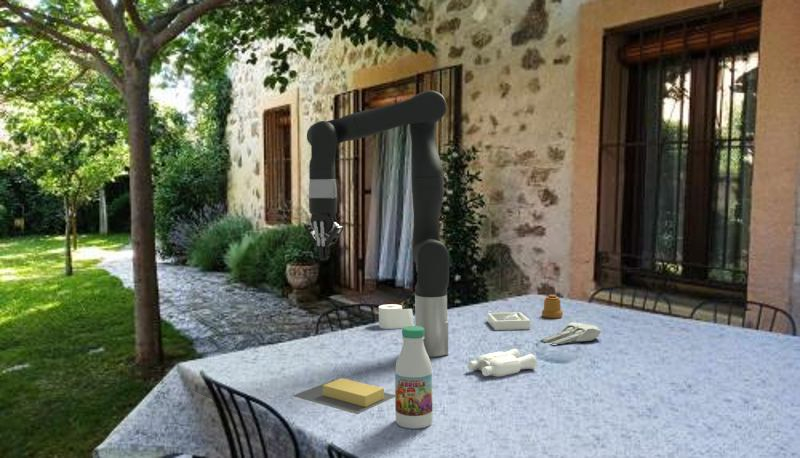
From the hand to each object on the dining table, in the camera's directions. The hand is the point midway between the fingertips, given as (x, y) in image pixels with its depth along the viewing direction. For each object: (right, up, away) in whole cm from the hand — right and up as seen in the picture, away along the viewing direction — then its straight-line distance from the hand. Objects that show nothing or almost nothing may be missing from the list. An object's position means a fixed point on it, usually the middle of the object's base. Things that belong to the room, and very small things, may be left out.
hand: (324, 259), depth 170 cm
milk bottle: (+24, -32, -41) cm, 57 cm away
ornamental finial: (+76, -24, +58) cm, 99 cm away
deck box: (+5, -29, -23) cm, 37 cm away
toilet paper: (+19, -26, +45) cm, 55 cm away
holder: (+58, -25, +45) cm, 78 cm away
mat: (+8, -31, -25) cm, 40 cm away
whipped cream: (+59, -25, +44) cm, 78 cm away
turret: (+74, -27, +24) cm, 83 cm away
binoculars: (+47, -30, -6) cm, 56 cm away
